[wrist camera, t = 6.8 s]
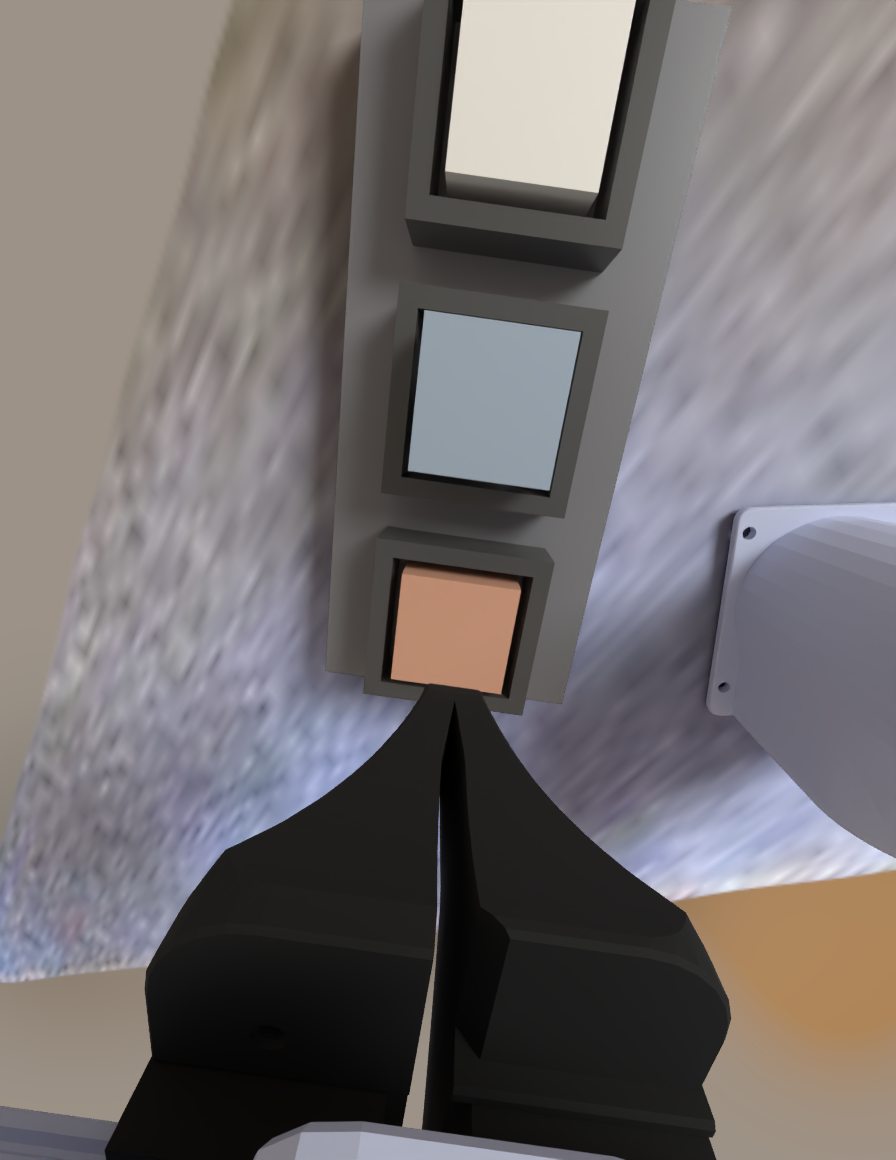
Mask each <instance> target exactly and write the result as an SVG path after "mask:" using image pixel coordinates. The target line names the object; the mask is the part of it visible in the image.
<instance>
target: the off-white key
mask: <svg viewBox="0 0 896 1160" xmlns="http://www.w3.org/2000/svg"><path fill="white" fill-rule="evenodd" d="M635 2H636V0H463V9H462V18H461V28H460V37H459V46H458V56H457V65H456V74H455V84H454V93H453V102H452V112H451V121H450V130H449V139H448V149H447V158H446V167H445V176H446V187H447V198H454V199H461V200H468V201H475V202H482V203H489V204H496V205H504V206H511V207H518V208H525V209H532V210H539V211H546V212H553V213H560V214H567V215H574V216H581V217H585V216H586V215H587V213H588V211H589V209H590V207H591V205H592V204H593V202H594V200H595V198H596V196H597V195H598V192H599V187H600V182H601V177H602V172H603V167H604V162H605V156H606V151H607V146H608V141H609V136H610V131H611V126H612V121H613V115H614V110H615V105H616V100H617V95H618V90H619V85H620V79H621V74H622V69H623V64H624V59H625V54H626V49H627V44H628V38H629V33H630V28H631V23H632V18H633V13H634V8H635Z"/></svg>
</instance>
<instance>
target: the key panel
mask: <svg viewBox="0 0 896 1160" xmlns="http://www.w3.org/2000/svg"><path fill="white" fill-rule="evenodd" d="M462 9H463V0H363V14H362V32H361V49H360V67H359V85H358V103H357V120H356V138H355V156H354V173H353V191H352V209H351V227H350V244H349V262H348V280H347V297H346V315H345V333H344V350H343V368H342V386H341V404H340V421H339V439H338V457H337V474H336V492H335V510H334V527H333V545H332V563H331V581H330V598H329V616H328V634H327V651H326V669H325V671H328V672H335V673H342V674H349V675H356V676H364V677H365V680H364V692H363V693H364V694H371V695H379V696H386V697H393V698H400V699H407V700H414V701H418V700H419V698H420V696H421V694H422V692H423V690H424V687H425V686H426V685H428V684H424V683H416V682H409V681H402V680H395V679H391V673H392V663H393V654H394V645H395V635H396V626H397V617H398V607H399V598H400V589H401V579H402V573H403V571H404V569H405V566H406V564H407V562H408V560H413V561H420V562H428V563H435V564H442V565H449V566H456V567H463V568H470V569H477V570H485V571H492V572H499V573H506V574H513V575H516V577H517V580H518V583H519V586H520V589H521V594H520V599H519V604H518V609H517V614H516V619H515V624H514V629H513V635H512V640H511V645H510V650H509V655H508V660H507V665H506V671H505V676H504V681H503V686H502V691H501V694H495V693H488V692H481V691H480V692H481V693H482V695H483V697H484V699H485V702H486V704H487V706H488V708H489V710H490V711H493V712H501V713H508V714H515V715H522V713H523V709H524V704H525V699H529V700H536V701H543V702H550V703H557V704H562V701H563V697H564V693H565V689H566V685H567V681H568V677H569V672H570V668H571V664H572V660H573V656H574V652H575V648H576V644H577V640H578V636H579V632H580V627H581V623H582V619H583V615H584V611H585V607H586V603H587V599H588V595H589V591H590V587H591V582H592V578H593V574H594V570H595V566H596V562H597V558H598V554H599V550H600V546H601V542H602V537H603V533H604V529H605V525H606V521H607V517H608V513H609V509H610V505H611V501H612V497H613V492H614V488H615V484H616V480H617V476H618V472H619V468H620V464H621V460H622V456H623V452H624V447H625V443H626V439H627V435H628V431H629V427H630V423H631V419H632V415H633V411H634V407H635V402H636V398H637V394H638V390H639V386H640V382H641V378H642V374H643V370H644V366H645V362H646V357H647V353H648V349H649V345H650V341H651V337H652V333H653V329H654V325H655V321H656V317H657V312H658V308H659V304H660V300H661V296H662V292H663V288H664V284H665V280H666V276H667V272H668V267H669V263H670V259H671V255H672V251H673V247H674V243H675V239H676V235H677V231H678V227H679V222H680V218H681V214H682V210H683V206H684V202H685V198H686V194H687V190H688V186H689V182H690V177H691V173H692V169H693V165H694V161H695V157H696V153H697V149H698V145H699V141H700V137H701V132H702V128H703V124H704V120H705V116H706V112H707V108H708V104H709V100H710V96H711V92H712V87H713V83H714V79H715V75H716V71H717V67H718V63H719V59H720V55H721V51H722V47H723V42H724V38H725V34H726V30H727V26H728V22H729V18H730V14H731V10H732V7H727V6H720V5H713V4H706V3H699V2H692V1H685V0H636V2H635V8H634V13H633V18H632V23H631V28H630V33H629V38H628V44H627V49H626V54H625V59H624V64H623V69H622V74H621V79H620V85H619V90H618V95H617V100H616V105H615V110H614V115H613V121H612V126H611V131H610V136H609V141H608V146H607V151H606V156H605V162H604V167H603V172H602V177H601V182H600V187H599V192H598V195H597V196H596V198H595V200H594V202H593V204H592V205H591V207H590V209H589V211H588V213H587V215H586V216H585V217H581V216H574V215H567V214H560V213H553V212H546V211H539V210H532V209H525V208H518V207H511V206H504V205H496V204H489V203H482V202H475V201H468V200H461V199H454V198H447V187H446V176H445V167H446V158H447V149H448V139H449V130H450V121H451V112H452V102H453V93H454V84H455V74H456V65H457V56H458V46H459V37H460V28H461V18H462ZM424 310H428V311H435V312H442V313H449V314H456V315H463V316H470V317H477V318H484V319H491V320H498V321H505V322H512V323H520V324H527V325H534V326H541V327H548V328H555V329H562V330H569V331H576V332H581V335H580V340H579V345H578V350H577V355H576V360H575V365H574V370H573V375H572V380H571V385H570V390H569V395H568V400H567V405H566V410H565V415H564V420H563V425H562V430H561V435H560V440H559V445H558V450H557V455H556V460H555V465H554V470H553V475H552V480H551V485H550V490H542V489H535V488H528V487H520V486H513V485H506V484H499V483H492V482H485V481H478V480H471V479H464V478H456V477H449V476H442V475H435V474H428V473H421V472H414V471H408V464H409V454H410V445H411V435H412V426H413V416H414V406H415V397H416V387H417V377H418V368H419V358H420V349H421V339H422V329H423V320H424Z"/></svg>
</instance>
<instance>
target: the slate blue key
mask: <svg viewBox="0 0 896 1160" xmlns="http://www.w3.org/2000/svg"><path fill="white" fill-rule="evenodd" d="M580 335H581V332H576V331H569V330H562V329H555V328H548V327H541V326H534V325H527V324H520V323H512V322H505V321H498V320H491V319H484V318H477V317H470V316H463V315H456V314H449V313H442V312H435V311H428V310H424V320H423V329H422V339H421V349H420V358H419V368H418V377H417V387H416V397H415V406H414V416H413V426H412V435H411V445H410V454H409V464H408V471H414V472H421V473H428V474H435V475H442V476H449V477H456V478H464V479H471V480H478V481H485V482H492V483H499V484H506V485H513V486H520V487H528V488H535V489H542V490H550V485H551V480H552V475H553V470H554V465H555V460H556V455H557V450H558V445H559V440H560V435H561V430H562V425H563V420H564V415H565V410H566V405H567V400H568V395H569V390H570V385H571V380H572V375H573V370H574V365H575V360H576V355H577V350H578V345H579V340H580Z"/></svg>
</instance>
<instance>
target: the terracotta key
mask: <svg viewBox="0 0 896 1160" xmlns="http://www.w3.org/2000/svg"><path fill="white" fill-rule="evenodd" d="M520 594H521V589H520V586H519V583H518V580H517V577H516V575H513V574H506V573H499V572H492V571H485V570H477V569H470V568H463V567H456V566H449V565H442V564H435V563H428V562H420V561H413V560H408V562H407V564H406V566H405V569H404V571H403V573H402V579H401V589H400V598H399V607H398V617H397V626H396V635H395V645H394V654H393V663H392V673H391V679H395V680H402V681H409V682H416V683H424V684H429V683H433V684H440V685H447V686H454V687H461V688H468V689H475V690H479V691H481V692H488V693H495V694H501V691H502V686H503V681H504V676H505V671H506V665H507V660H508V655H509V650H510V645H511V640H512V635H513V629H514V624H515V619H516V614H517V609H518V604H519V599H520Z"/></svg>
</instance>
